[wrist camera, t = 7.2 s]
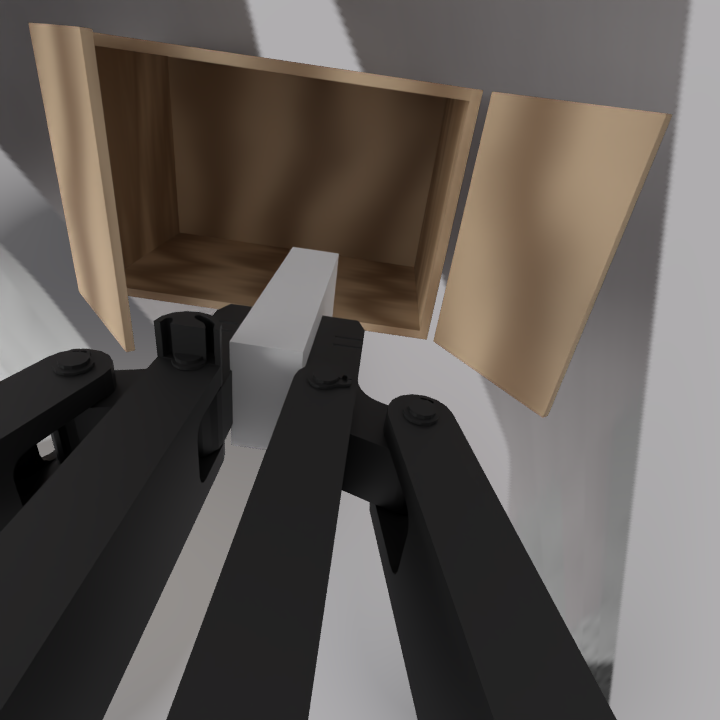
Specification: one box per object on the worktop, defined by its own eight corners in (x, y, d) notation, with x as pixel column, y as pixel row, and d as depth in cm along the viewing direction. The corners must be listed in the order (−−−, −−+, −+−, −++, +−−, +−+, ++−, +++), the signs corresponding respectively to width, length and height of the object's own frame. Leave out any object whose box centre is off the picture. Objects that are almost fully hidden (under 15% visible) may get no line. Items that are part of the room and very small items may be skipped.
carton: (176, 236, 38) (94, 290, 28) (162, 46, 32) (48, 25, 21) (418, 271, 38) (426, 339, 28) (455, 89, 32) (483, 90, 21)
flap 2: (542, 417, 22) (547, 415, 23) (666, 113, 16) (672, 114, 16) (433, 341, 28) (438, 340, 28) (492, 91, 21) (497, 92, 22)
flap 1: (92, 28, 16) (79, 26, 16) (135, 350, 23) (126, 352, 23) (38, 24, 21) (28, 22, 21) (86, 290, 28) (79, 291, 28)
